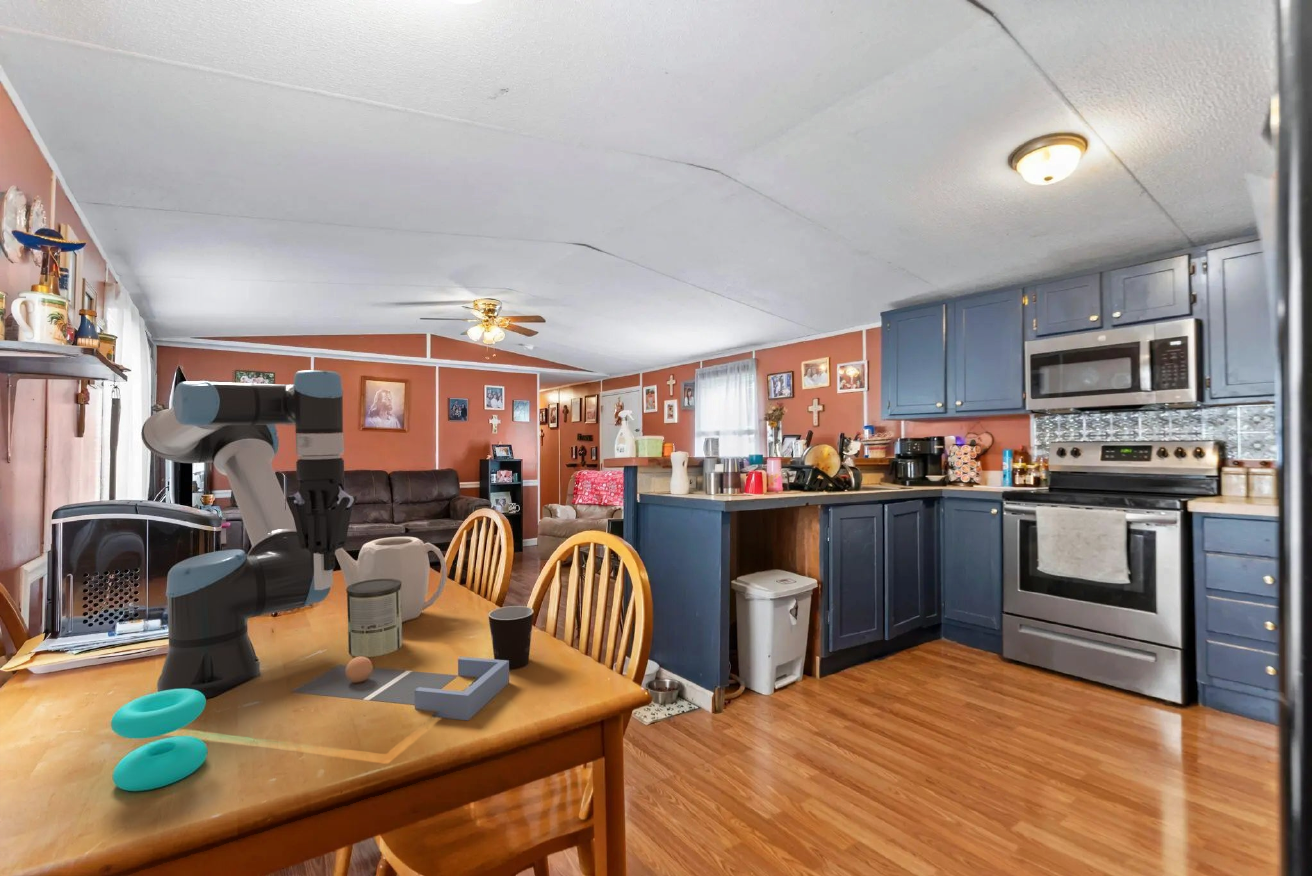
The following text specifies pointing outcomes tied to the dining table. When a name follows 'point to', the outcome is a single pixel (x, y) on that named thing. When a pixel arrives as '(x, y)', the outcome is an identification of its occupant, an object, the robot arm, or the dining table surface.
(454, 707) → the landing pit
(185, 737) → the donuts
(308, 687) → the runway
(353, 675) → the ball
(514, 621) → the coffee mug
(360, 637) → the coffee can
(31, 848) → the dining table surface
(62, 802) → the dining table surface
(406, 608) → the white teapot
